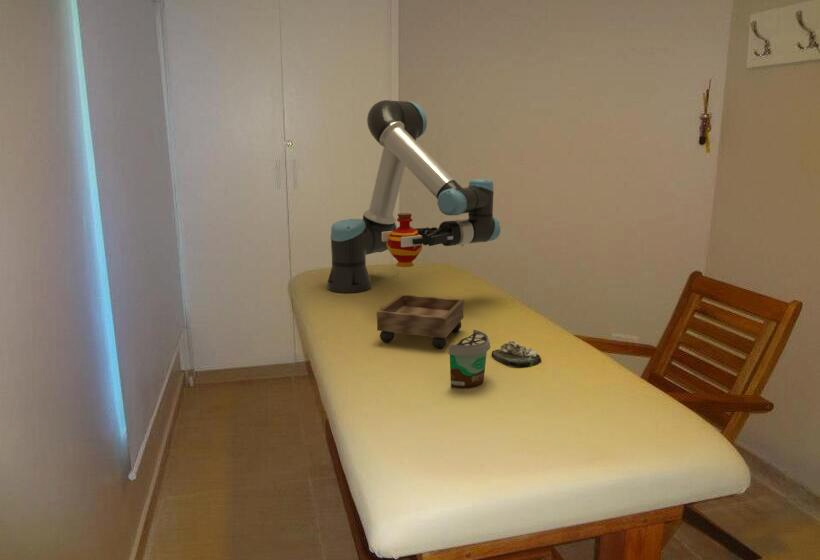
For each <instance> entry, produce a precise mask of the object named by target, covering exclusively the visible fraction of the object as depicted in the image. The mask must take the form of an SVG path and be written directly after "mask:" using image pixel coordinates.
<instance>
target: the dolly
mask: <svg viewBox="0 0 820 560" xmlns="http://www.w3.org/2000/svg"><path fill="white" fill-rule="evenodd" d="M464 303H465V300H464V299H456V298H447V297H435V296H425V295H424V296H423V295H413V294H405V293H404V294H403V293H402V294H399V295H397V297H396V298H394V299H392V300H391V301H390V302H389V303H387V304H386V305H384V306H383V307H382V308H380V309H378V310H377V312H376V319H377V320H376V323H377V324H376V326H377V327H376V330H377V331H380V334H379V338H380V340H381V342H383V343H384V344H390V343H391V342H393V341H394V339H395V338H396V333H397V334H406V335H412V336H413V335H415V336H422V337H431V338H432V339H431V344H432V346H433V348H434V349H436V350H443V349H444V348H446V346H447V345H448V338H447V337H448V336H449V335H450V334H451V333H457V332H459V331H460V330H461V329H462V322H461V321H462V320H463V319H464V311H465V309H464V307H465V305H464Z"/></svg>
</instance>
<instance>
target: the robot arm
mask: <svg viewBox="0 0 820 560" xmlns="http://www.w3.org/2000/svg"><path fill="white" fill-rule="evenodd" d="M366 118H367V120H366V123H367V128H368V130H369V132H370V135H371V136H372V137H373V138H374V140H376V142H377V143H379V145H380V146H381V147H383V149H382V152H381V156H380V161H379V165H378V169H377V175H376V180H375V181H374V182H375V184H374V187H373V192H372V196H371V199H370V200H371V201H370V205H369V208H368V209H367V210H365V211H364V212H363V215H362V219H361V218H349V219H342V220H338V221H336V222H334V223H333V224H332V225H331V228H330V230H331V231H330V245H331V246H330V248H331V249H330V250H331V268H330V273H329V276H328V280H327V290H328V291H331V292H334V293H339V294H340V293H344V294H345V293H346V294H347V293H349V294H350V293H353V294H355V293H362V292H365V291H368V290H370V289H371V288H372V281H371V277H370V274H369V271H368V268H367V265H366V264H367V263H366V261H367V260H366V259H367V258H366V256H367V255H371V254H376V253H382V252H386V251H389V250H388V248H387V244H386V243H387V242H388V238H387V236H388V235H389V234H390V233H391V231H394V230H395V229H396V228H398V226H397V224H396V221H397V219H396V218H395V216H394V212H395V208H396V203H397V201H398V195H399V192H400V187H401V183H402V179H403V176H404V172H405V167H406V168H407V169H408V170H409V171H410V172H411V173H412V174H413V175H414V176H415V177H416V178H417V179H418V180H419V181H420V182H421V184H422V185H424V187H425V188H426V189H427V190H428V191H429V192H430V193H431V194H432V195H433V196H434V197H435V198H436V199H437V200H436V201H437V207H438V210H439V212H441V214H443V215H445V216H459V215H464V214H468V215H467V216H468V219H466V218H464V219H455V220H446V221H445V220H443V221H442V222H441V223H440V224H439V226H438V227H435V226H434V227H433V226H432V227H428V226H427V227H419V228H418V227H417V228H414V227H413V228H414V229H416V230H417V231H418V234H419V235H418V236H409V237H401V247H409V246H418V245H422V246H428V247H432V246H436V245H437V246H438V245H442V246H444V247H451V246H459V245H460V246H461V247H465V246H464V245H468V244H476V243H487V242H492V241H494V240H497V239H498V238H499V236H500V234H501V225H500V221H499V220H498V219H497V218H496V217H494V214H493V212H494V193H495V191H494V182H493V181H492V180H491V179H487V178H486V179H485V178H476V179H473V178H472V179H470V180H469V182H468V186H467V187H462V186H461V184H459V182H457V181H456V180H455V179H454V178H453V176H452V175H450V174H449V173H448V172H447V171H446V170H445V169H444V168H443V167H442V165H440V164H439V162H437V161H436V160H435V158H433V157H432V156H431V154H429V153H428V152H427V150H426V149H425V148H424V147H423V146H421V144H420V143H419V142H418V141H417V139H418V138H420V137H422V135H424V134H425V132H426V129H427V125H428V118H427V114H426V112H425V110H424V108H423V107H422V106H421V105H420V104H418V103H416V102H412V101H408V100H390V99H388V100H387V99H385V100H380V101H378V102H376V103H374V104H373V105H372V106H371V108H370V109H369V111H368V113H367V117H366Z"/></svg>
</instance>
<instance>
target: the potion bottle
mask: <svg viewBox="0 0 820 560" xmlns="http://www.w3.org/2000/svg"><path fill="white" fill-rule="evenodd" d="M397 216H398V217H397V219H396V221H397V222H398V223H399V226H397V228H396V229H395V230H394V231H391V233H390V234H389V235H388V236H387V238H388V242H387V243H386V244H387V248H388V250H387V251H388V252H389V253H390V254H391V255H392V257H393V258H394V259H395V260H397V263H396V264H395V265H396V267H398V268H411V267H414V266H415V264H414V263H413V261H414V260H416V259H417V258H418V255H420V253H421V252H422V250H423V244H422V245H418V246H409V247H401V237H409V236H418V235H419V234H418V231H417V230H416V229H414V227H412V226H411V225H410V222H413V218H412V216H413V215H412V213H409V212H402V213H401V212H400V213H397Z"/></svg>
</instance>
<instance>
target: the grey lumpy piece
mask: <svg viewBox="0 0 820 560" xmlns="http://www.w3.org/2000/svg"><path fill="white" fill-rule="evenodd" d="M491 358H492V359H494V360H495V361H496V362H498V363H501V364H502V365H505V366H508V367H511V368H517V369H518V368H519V369H520V368H531V367H535V366H537V365H539V364H541V363H542V359H541V355H539V354H538V353H537V351H536V350H535V349H532V348H531V347H526V346H524V345H520V344H519V343H517V342H515V341H514V340H509V341H508V342H506V343H503V344H502V345H501V346H500V348H498V349H495V350H492V351H491Z"/></svg>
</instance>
